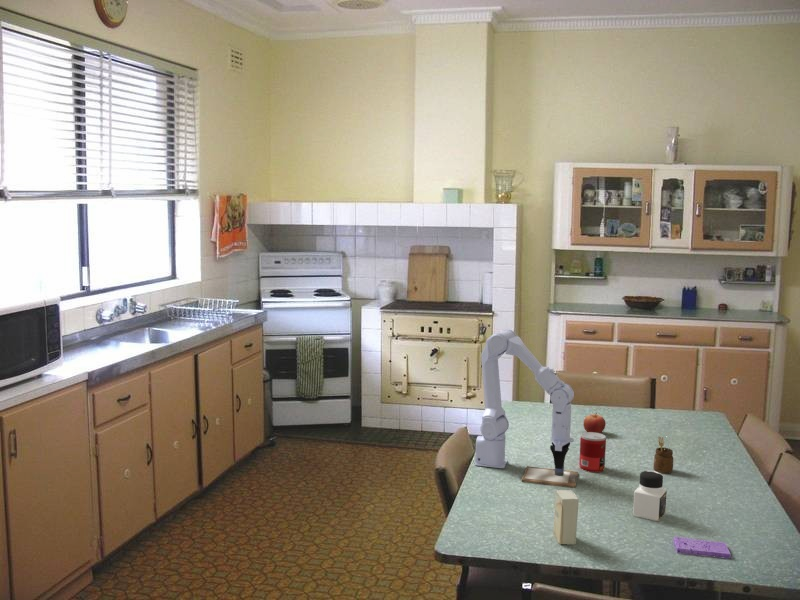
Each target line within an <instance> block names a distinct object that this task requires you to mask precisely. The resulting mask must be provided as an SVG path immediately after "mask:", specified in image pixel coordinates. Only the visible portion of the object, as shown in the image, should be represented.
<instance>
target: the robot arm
mask: <svg viewBox="0 0 800 600" xmlns="http://www.w3.org/2000/svg"><path fill="white" fill-rule="evenodd" d="M504 354H505V355H510V356H515V357H517V358H518V359H519V360H520V361H521V362H522V363H523V364H524V365H525V366H526V367H527V368H528V369H529V370H530V371H531V372H532V373H533V374H534V380H535V381H536V382H537V383H538V384H539V386H540V387H542V389H543V390H544V391H545V392H546V393H547V394H548V395H549V400H550V402H551V404H552V411H551V430H550V431H551V433H550V435H551V436H550V441H551V444H550V447H549V449H550V451H551V453H552V456H553V463H554V469H555V468H557V469H562V468H563V464H564V465H565V460H566V456H567V454H568V451H569V450H570V448H569V447H570V445H571V443H574V442H575V438H573V437H572V438H571V422H572V401H573V400H574V397H575V392H574V390H573V388H572V386H571V385H570V384H566V383H565V382H564V380H561V378H559V377H558V375H557V374H556V373H555V370H554V369H553V368H550V367H549V366H543V365H542V363H540V361H539V360H538V359H537V358H536V356H535V355H534V354H533V353H532V352H531V350H530V349H529V348H528V347H527V346H526V345H525V343H524V342H523V340H522V339H521V337H520V336H518V335H517V334H516V332H515V331H513V330H512V329H508V328H507V329H504V330H502V331H499V332H496V333H495V332H494V333H493V334H491V335H490V336H489V337H488V338H487V339H486V340H485V345H484V347H483V350H482V352H481V354H480V360H481V361H480V362H481V372H482V385H483V393H484V395H483V396H484V398H483V399H484V408H485V409H484V411H483V413H482V416H481V417H482V418H481V424H480V428H479V429H480V434H481V435H477V437H476V440H475V441H476V442H475V457H474V458H475V460H474V466H477V467H486V468H487V467H488V468H496V469H505V467H506V465H507V463H508V459H506V432H507V431H508V430H509V428H510V427H509V426H510V423H509V420H508V418H507V416H506V411H505V409H504V408H503V407H502V405H503V404H502V394H501V392H502V391H501V383H500V381H501V380H500V370H499V369H500V367H499V359H500V358H501V357H502V356H503V355H504Z"/></svg>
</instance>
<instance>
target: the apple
mask: <svg viewBox="0 0 800 600" xmlns="http://www.w3.org/2000/svg"><path fill="white" fill-rule="evenodd" d="M606 426H607V425H606V420H605V418H604V417H603V416H601V415H599V414H597V412H595V413H593V414H589V415H587V416H585V418H584V419H583V428H584V430H585V432H595V433H600V434H603V432H604V430H605V429H606Z"/></svg>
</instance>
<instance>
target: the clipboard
mask: <svg viewBox="0 0 800 600" xmlns="http://www.w3.org/2000/svg"><path fill="white" fill-rule="evenodd" d="M578 475H579V472H578V471H575V470H565V469H564V475H563V476H557V475H555V468H547V467H546V468H545V467H536V466H528V465H527V466H526V468H525V471H524V473H523V476H522V478H521V482H523V483H529V482H530V483H529V484H531V483H532V484H540V485H546V486H547V485H549V486H556V485H558V486H557V487H564V486H567V487H566V488H573V487H574V488H576V485H577V478H578Z"/></svg>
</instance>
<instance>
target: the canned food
mask: <svg viewBox="0 0 800 600" xmlns="http://www.w3.org/2000/svg"><path fill="white" fill-rule="evenodd" d="M579 441H580V442H579V463H578V464H579V465H578V466H579V467H580V469H581V470H582V469H583V471H585V472H588V471H589V473H600V472H604V469H605V467H606V466H605V465H606V452H607V451H606V449H607V448H606V447H607V436H606V435H605V434H603V433H595V432H586V431H585V432H582V433H580V439H579Z"/></svg>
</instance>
